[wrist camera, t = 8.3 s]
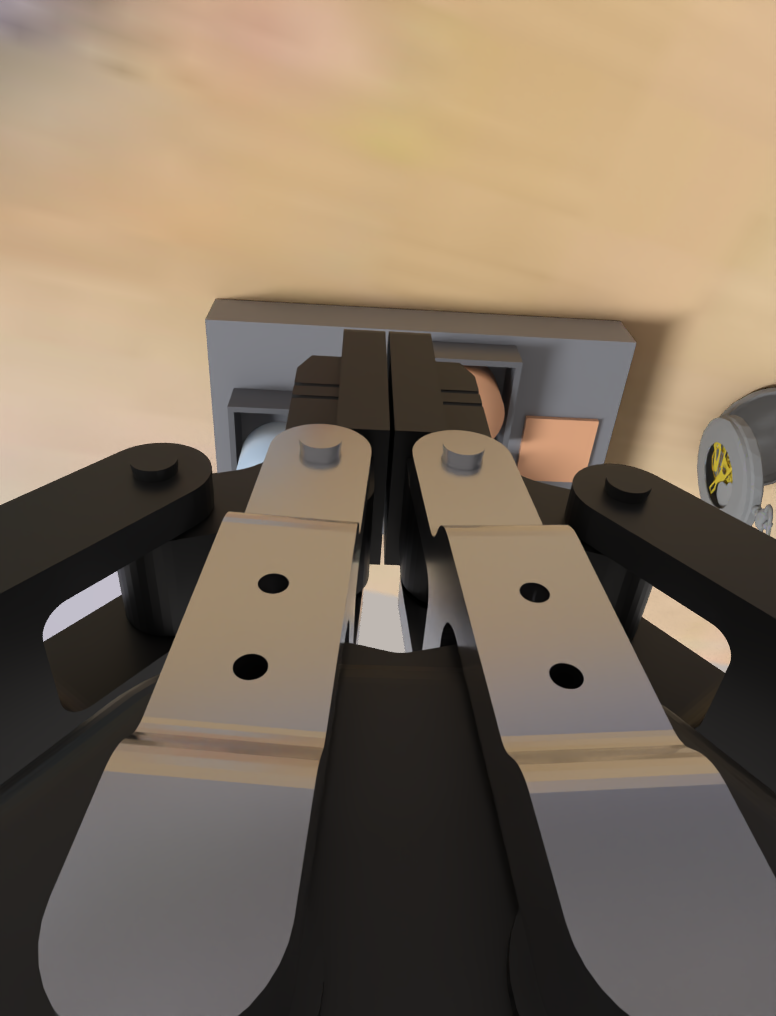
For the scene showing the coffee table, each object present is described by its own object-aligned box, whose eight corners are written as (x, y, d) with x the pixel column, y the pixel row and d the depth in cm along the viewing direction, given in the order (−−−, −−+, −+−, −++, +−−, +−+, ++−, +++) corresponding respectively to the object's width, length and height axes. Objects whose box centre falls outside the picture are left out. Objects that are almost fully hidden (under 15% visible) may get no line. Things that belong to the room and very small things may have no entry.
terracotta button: (503, 358, 38) (511, 378, 36) (491, 433, 41) (497, 455, 39) (418, 353, 38) (421, 374, 36) (411, 429, 41) (413, 451, 39)
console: (620, 320, 41) (649, 359, 37) (571, 513, 48) (590, 563, 44) (215, 298, 40) (197, 335, 35) (229, 499, 47) (216, 549, 43)
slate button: (325, 423, 38) (323, 447, 36) (324, 494, 41) (322, 520, 39) (239, 419, 38) (232, 443, 36) (243, 491, 40) (237, 517, 38)
